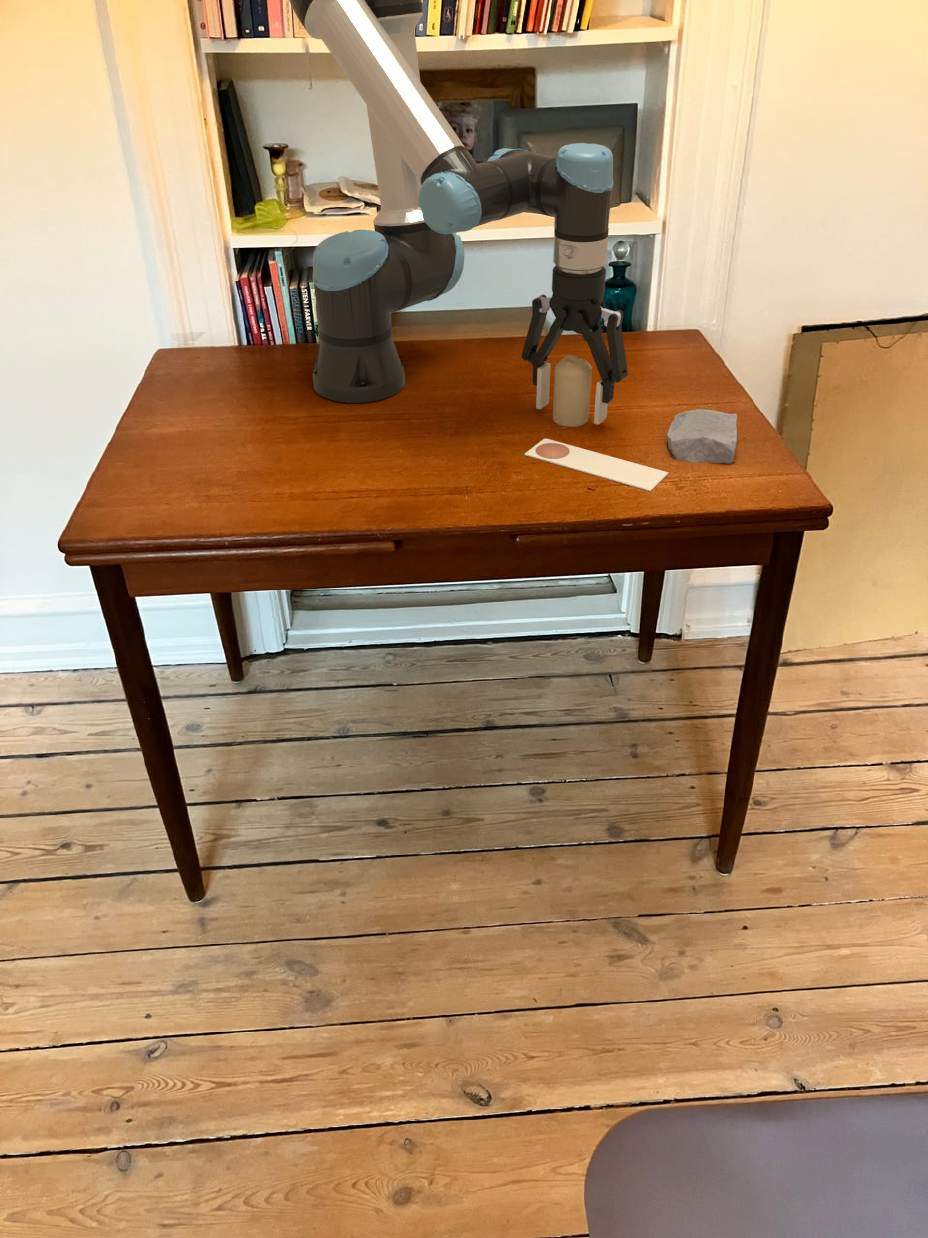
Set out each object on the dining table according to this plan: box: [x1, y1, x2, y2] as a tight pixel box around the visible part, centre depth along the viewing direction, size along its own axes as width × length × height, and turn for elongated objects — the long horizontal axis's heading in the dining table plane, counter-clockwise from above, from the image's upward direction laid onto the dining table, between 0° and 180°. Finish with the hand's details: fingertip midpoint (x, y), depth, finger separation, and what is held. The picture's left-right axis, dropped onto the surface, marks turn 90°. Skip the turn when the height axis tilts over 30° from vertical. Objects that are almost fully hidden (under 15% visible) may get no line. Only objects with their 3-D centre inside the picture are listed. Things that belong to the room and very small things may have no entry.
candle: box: [552, 354, 593, 428], centre depth 152 cm, size 6×6×10 cm
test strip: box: [524, 438, 670, 492], centre depth 143 cm, size 20×6×1 cm, turn 57°
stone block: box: [666, 408, 738, 465], centre depth 147 cm, size 12×5×10 cm
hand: (570, 412), depth 154 cm, fingers open, 9 cm apart
